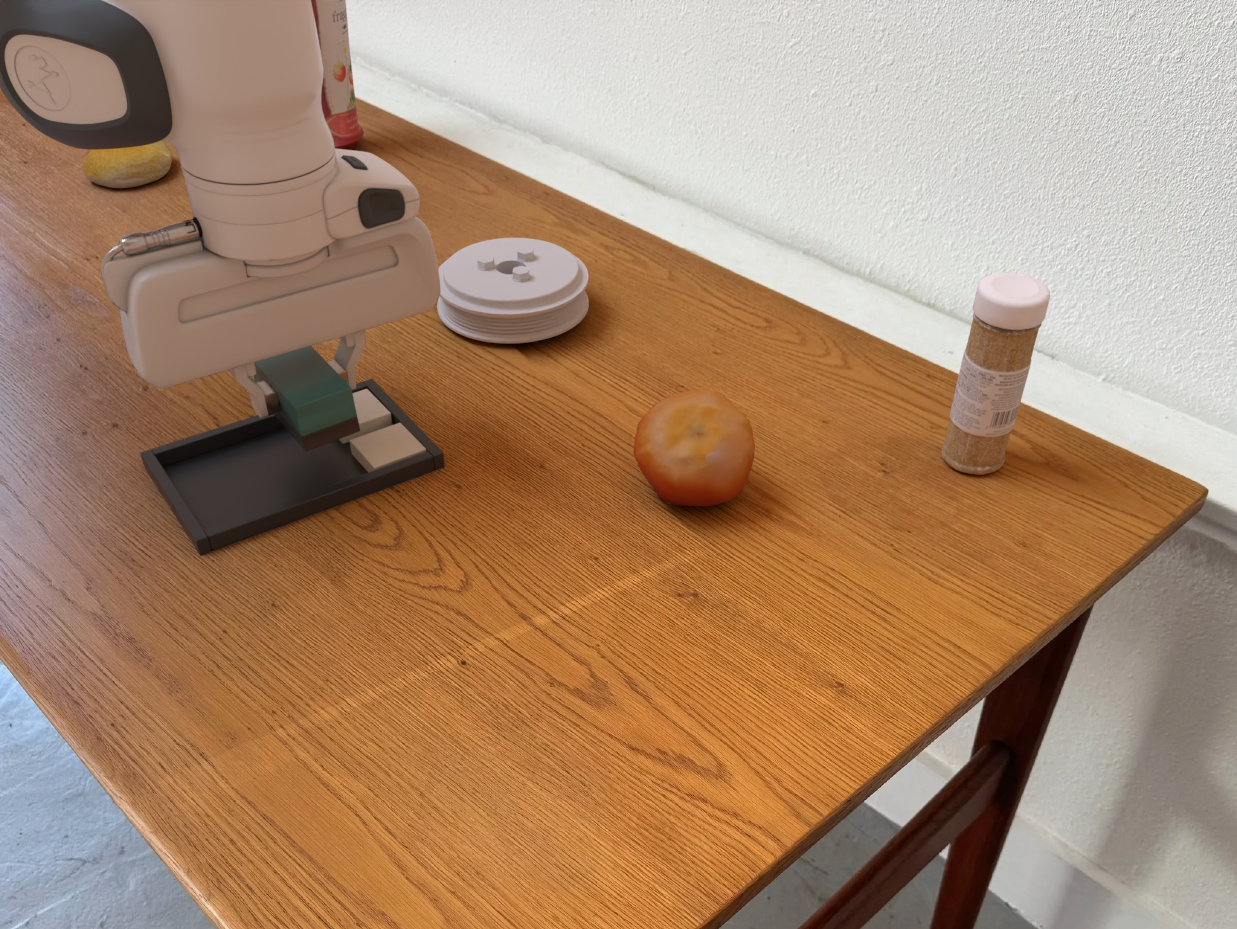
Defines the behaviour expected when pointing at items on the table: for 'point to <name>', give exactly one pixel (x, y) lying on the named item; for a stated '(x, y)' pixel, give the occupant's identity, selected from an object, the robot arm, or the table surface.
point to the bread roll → (128, 165)
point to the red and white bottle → (337, 73)
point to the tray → (269, 476)
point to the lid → (512, 290)
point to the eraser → (310, 397)
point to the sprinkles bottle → (994, 370)
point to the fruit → (695, 448)
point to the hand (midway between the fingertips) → (305, 399)
